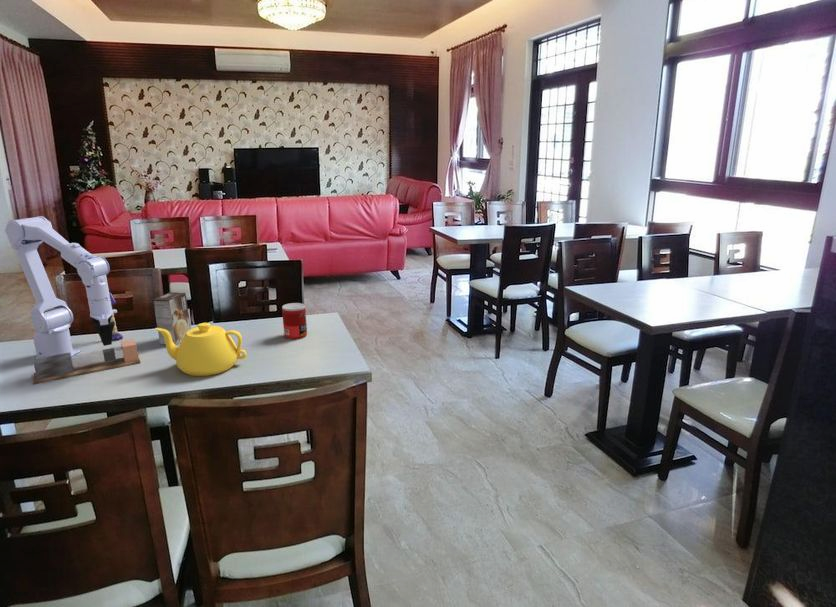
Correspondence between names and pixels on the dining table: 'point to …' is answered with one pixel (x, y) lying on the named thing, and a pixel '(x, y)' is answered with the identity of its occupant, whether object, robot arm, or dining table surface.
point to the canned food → (294, 320)
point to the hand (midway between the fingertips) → (106, 340)
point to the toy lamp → (115, 333)
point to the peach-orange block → (129, 350)
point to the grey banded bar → (97, 356)
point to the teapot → (205, 350)
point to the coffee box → (172, 315)
